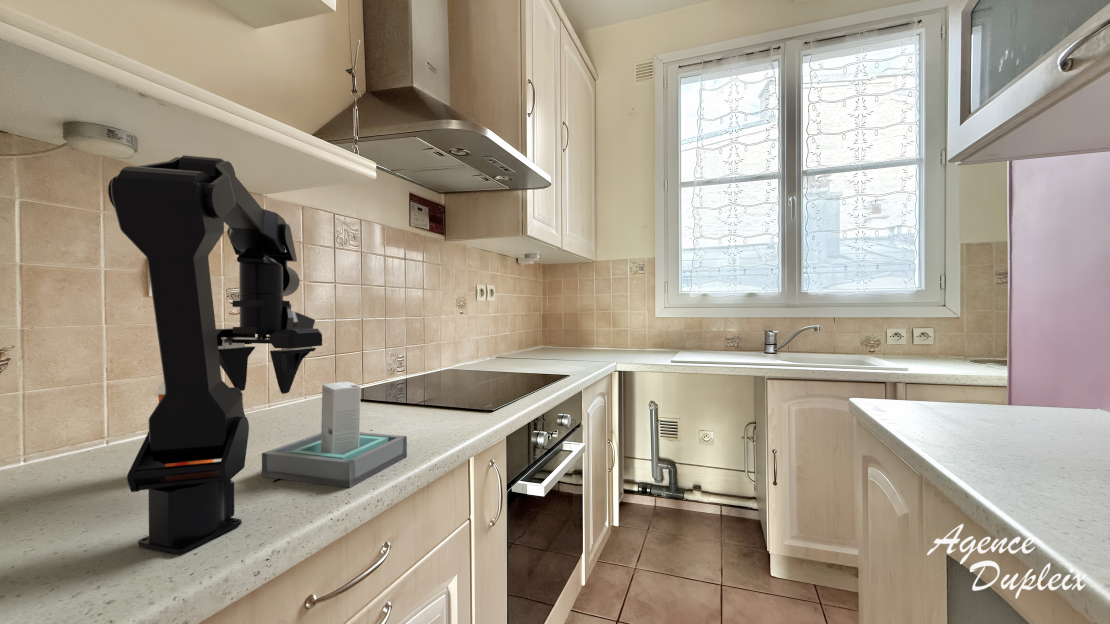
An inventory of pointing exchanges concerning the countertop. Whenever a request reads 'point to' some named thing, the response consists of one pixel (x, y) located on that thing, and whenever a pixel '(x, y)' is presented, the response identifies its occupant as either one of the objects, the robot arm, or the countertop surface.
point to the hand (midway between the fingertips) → (262, 391)
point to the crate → (334, 460)
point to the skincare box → (340, 417)
